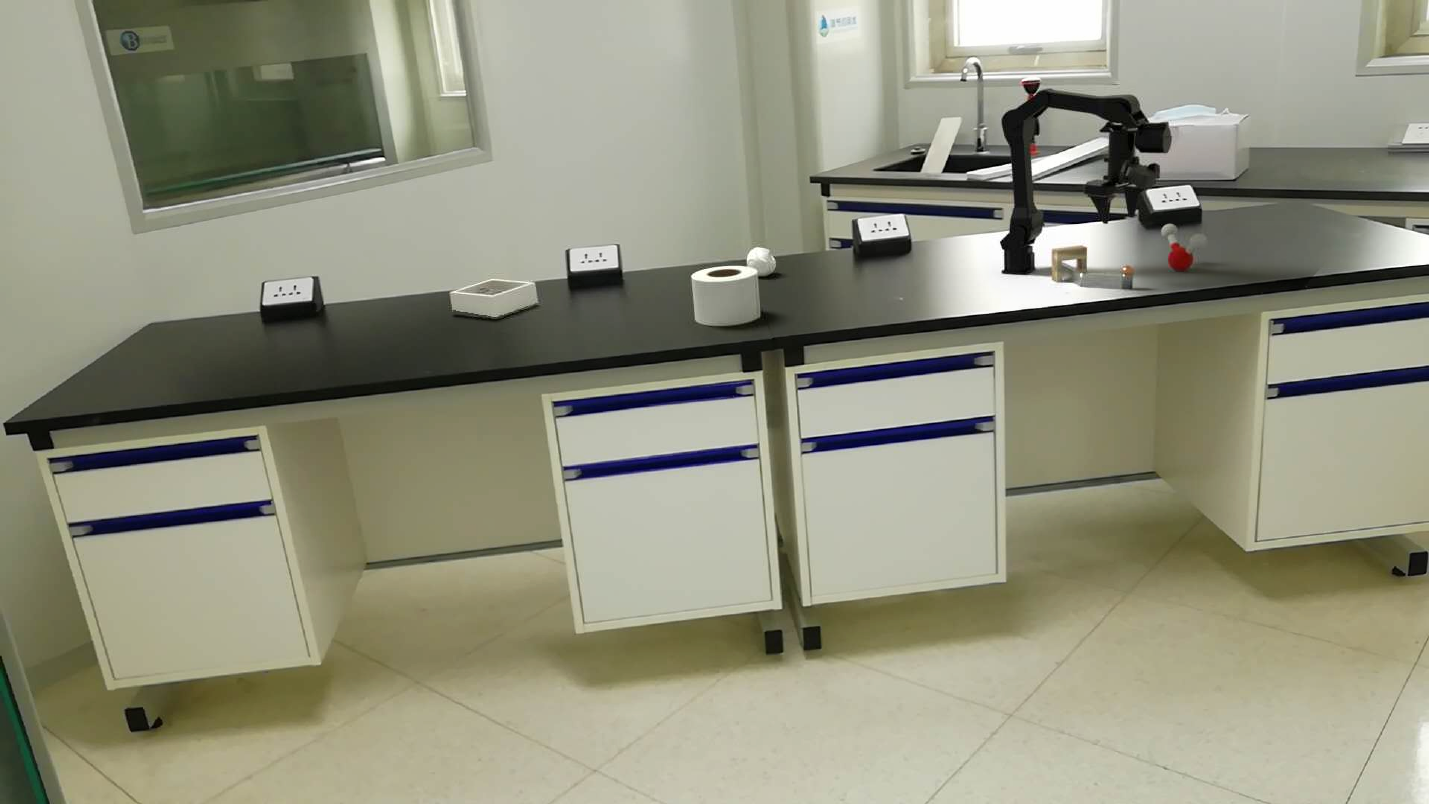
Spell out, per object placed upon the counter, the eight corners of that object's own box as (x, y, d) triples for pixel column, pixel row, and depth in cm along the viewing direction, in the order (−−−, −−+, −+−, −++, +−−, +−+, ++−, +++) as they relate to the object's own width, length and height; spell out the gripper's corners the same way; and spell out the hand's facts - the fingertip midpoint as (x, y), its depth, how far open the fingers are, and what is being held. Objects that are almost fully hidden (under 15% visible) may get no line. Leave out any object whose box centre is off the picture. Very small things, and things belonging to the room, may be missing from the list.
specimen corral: (453, 315, 300) (449, 292, 298) (495, 300, 311) (492, 278, 309) (496, 320, 291) (492, 296, 289) (538, 305, 302) (535, 282, 300)
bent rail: (1040, 278, 281) (1040, 256, 279) (1060, 273, 283) (1060, 251, 282) (1115, 293, 261) (1115, 270, 259) (1135, 288, 263) (1136, 265, 262)
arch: (1051, 279, 278) (1051, 248, 276) (1080, 276, 279) (1081, 245, 277) (1057, 282, 275) (1057, 251, 273) (1086, 278, 276) (1087, 247, 274)
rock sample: (465, 303, 294) (479, 275, 298) (466, 316, 301) (480, 289, 305) (504, 318, 294) (517, 289, 298) (504, 331, 301) (517, 303, 305)
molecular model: (1209, 276, 267) (1211, 233, 264) (1186, 279, 267) (1188, 236, 264) (1173, 261, 284) (1175, 221, 281) (1151, 264, 284) (1153, 223, 280)
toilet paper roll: (774, 312, 273) (770, 267, 269) (731, 329, 262) (727, 282, 259) (724, 306, 283) (720, 263, 279) (681, 322, 272) (677, 277, 269)
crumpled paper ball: (774, 279, 306) (771, 250, 303) (745, 280, 307) (743, 251, 305) (778, 272, 313) (776, 243, 311) (750, 273, 315) (748, 245, 312)
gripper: (1124, 160, 253) (1121, 231, 258) (1177, 149, 262) (1173, 217, 268) (1083, 157, 262) (1080, 225, 267) (1136, 146, 271) (1133, 212, 277)
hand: (1118, 220), depth 269 cm, fingers open, 9 cm apart
